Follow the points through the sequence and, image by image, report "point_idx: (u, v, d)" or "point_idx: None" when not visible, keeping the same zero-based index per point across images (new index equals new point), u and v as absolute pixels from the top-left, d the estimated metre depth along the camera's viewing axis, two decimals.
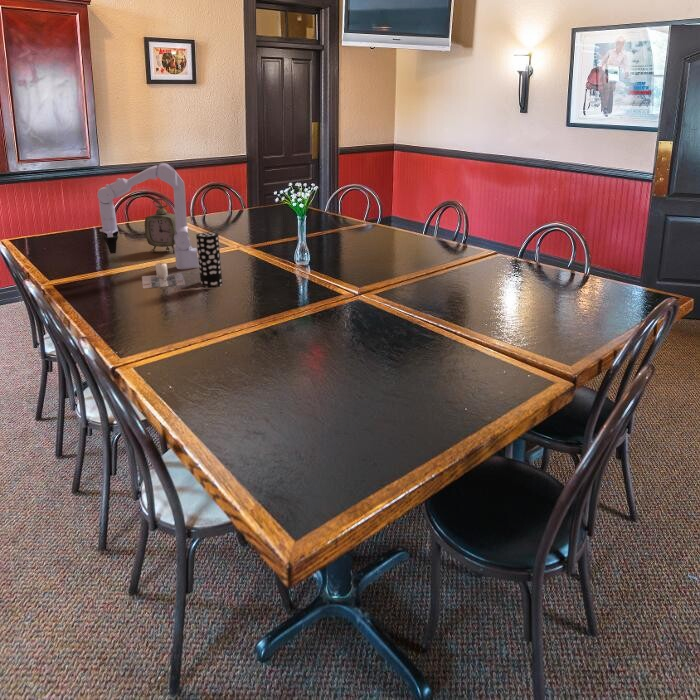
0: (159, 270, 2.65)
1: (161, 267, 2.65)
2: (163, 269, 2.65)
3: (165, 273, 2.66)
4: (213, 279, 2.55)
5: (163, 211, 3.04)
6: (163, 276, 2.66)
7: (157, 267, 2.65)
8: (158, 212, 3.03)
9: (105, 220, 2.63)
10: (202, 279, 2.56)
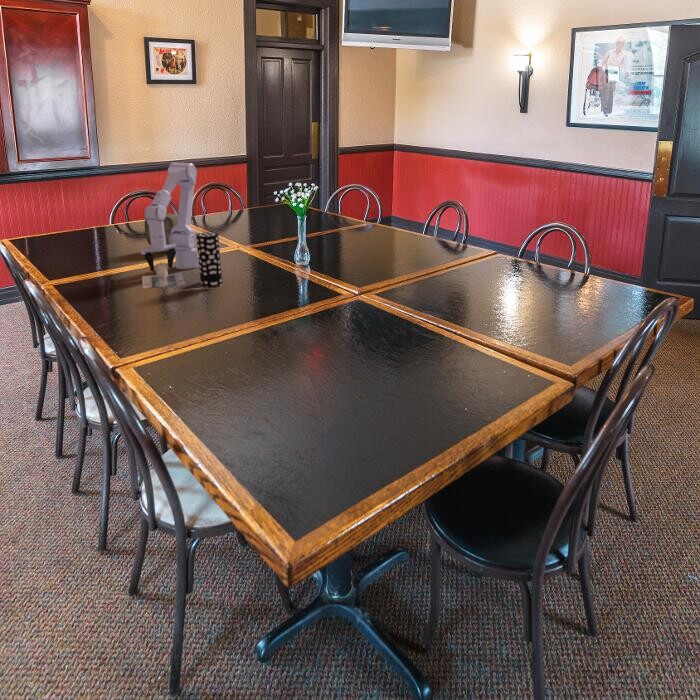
0: (159, 270, 2.65)
1: (161, 267, 2.65)
2: (163, 269, 2.65)
3: (165, 273, 2.66)
4: (213, 279, 2.55)
5: None
6: (163, 276, 2.66)
7: (157, 267, 2.65)
8: None
9: (150, 237, 2.61)
10: (202, 279, 2.56)
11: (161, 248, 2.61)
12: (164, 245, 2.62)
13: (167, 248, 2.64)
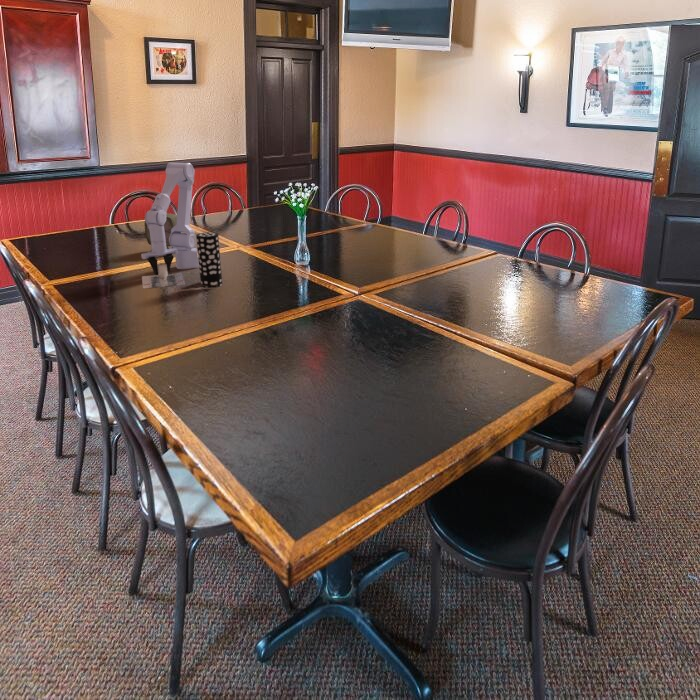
0: (159, 270, 2.65)
1: (161, 267, 2.65)
2: (163, 269, 2.65)
3: (165, 273, 2.66)
4: (213, 279, 2.55)
5: None
6: (163, 276, 2.66)
7: (157, 267, 2.65)
8: None
9: None
10: (202, 279, 2.56)
11: (162, 252, 2.62)
12: (165, 249, 2.63)
13: (168, 252, 2.64)
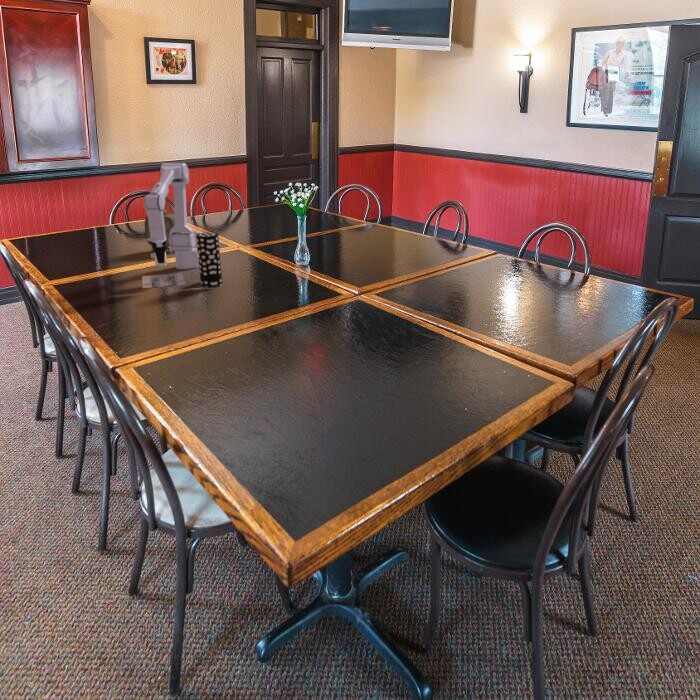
0: None
1: (165, 254, 2.55)
2: None
3: None
4: (213, 279, 2.55)
5: (163, 211, 3.04)
6: (166, 263, 2.57)
7: None
8: None
9: (154, 229, 2.49)
10: (202, 279, 2.56)
11: None
12: None
13: None
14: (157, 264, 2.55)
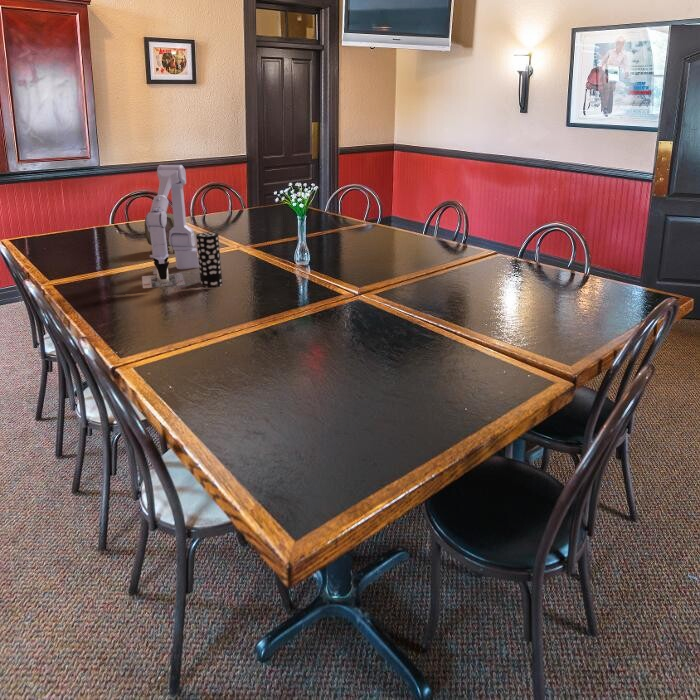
0: None
1: (167, 270, 2.57)
2: None
3: None
4: (213, 279, 2.55)
5: None
6: (168, 279, 2.59)
7: None
8: None
9: (156, 246, 2.51)
10: (202, 279, 2.56)
11: (168, 254, 2.56)
12: None
13: None
14: (159, 280, 2.57)
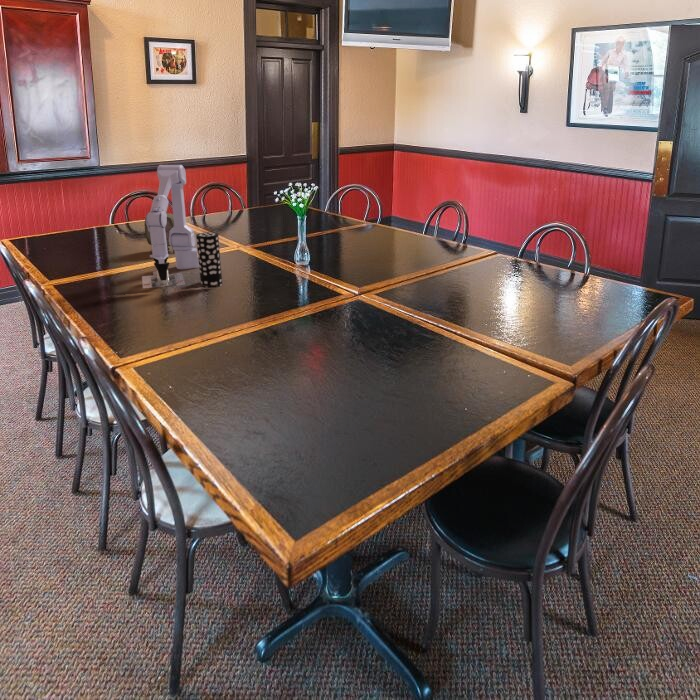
0: None
1: (167, 272, 2.58)
2: None
3: None
4: (213, 279, 2.55)
5: None
6: None
7: None
8: None
9: (156, 246, 2.51)
10: (202, 279, 2.56)
11: (168, 254, 2.56)
12: None
13: None
14: None
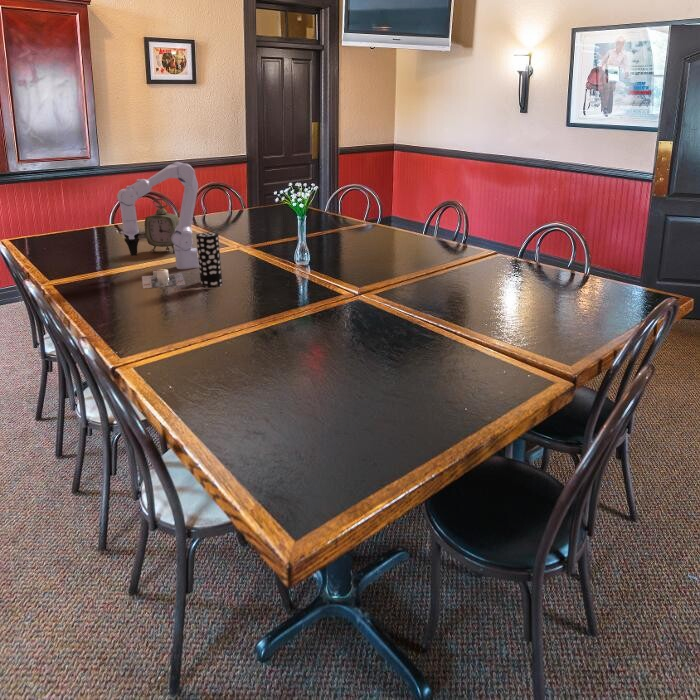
0: (166, 276, 2.57)
1: (167, 272, 2.58)
2: None
3: None
4: (213, 279, 2.55)
5: (163, 211, 3.04)
6: None
7: (164, 273, 2.56)
8: (158, 212, 3.03)
9: (126, 222, 2.60)
10: (202, 279, 2.56)
11: (138, 230, 2.65)
12: None
13: None
14: None
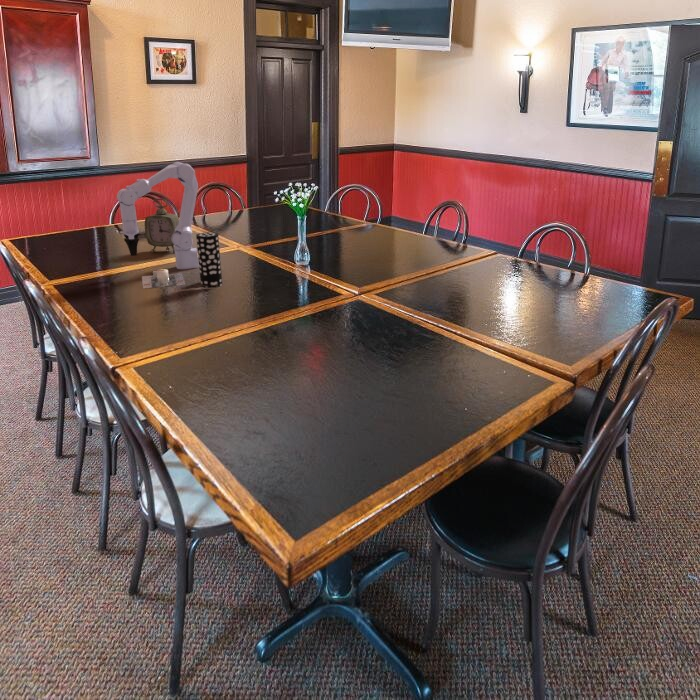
0: (166, 276, 2.57)
1: (167, 272, 2.58)
2: None
3: None
4: (213, 279, 2.55)
5: (163, 211, 3.04)
6: None
7: (164, 273, 2.56)
8: (158, 212, 3.03)
9: (126, 222, 2.60)
10: (202, 279, 2.56)
11: (138, 230, 2.65)
12: None
13: None
14: None
